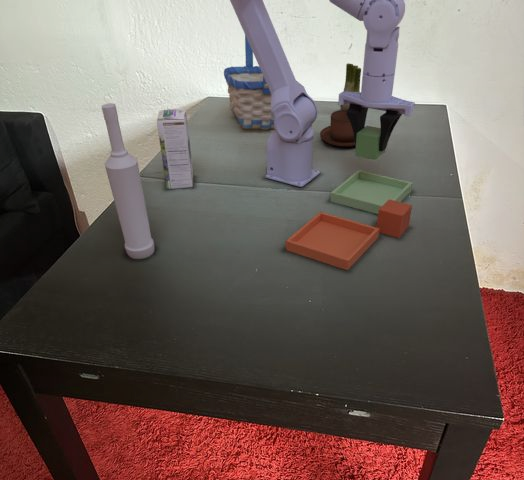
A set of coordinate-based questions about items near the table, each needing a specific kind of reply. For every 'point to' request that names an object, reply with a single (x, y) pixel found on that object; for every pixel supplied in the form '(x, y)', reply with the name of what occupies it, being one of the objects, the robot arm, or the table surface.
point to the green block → (368, 143)
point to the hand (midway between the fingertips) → (370, 147)
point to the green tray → (370, 191)
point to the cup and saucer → (339, 130)
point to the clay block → (394, 218)
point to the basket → (249, 94)
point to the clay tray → (333, 240)
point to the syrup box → (175, 148)
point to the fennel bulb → (351, 81)
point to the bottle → (127, 190)
